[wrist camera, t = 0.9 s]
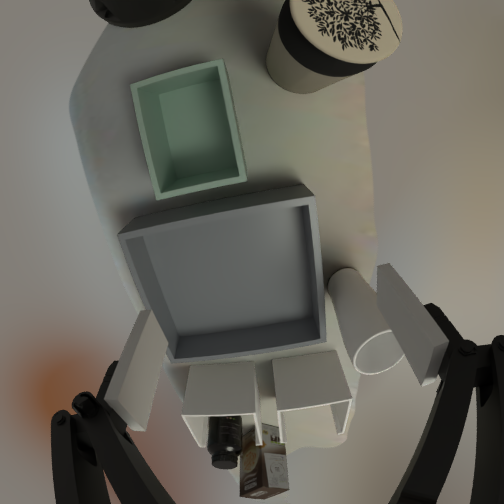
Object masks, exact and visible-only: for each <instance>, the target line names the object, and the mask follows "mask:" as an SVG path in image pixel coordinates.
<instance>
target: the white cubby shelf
mask: <svg viewBox="0 0 504 504" xmlns="http://www.w3.org/2000/svg"><path fill="white" fill-rule="evenodd" d="M272 365H273V374H274V384H275V394H276V403H277V413H278V423H279V433H280V443H287V437H286V428H285V419H284V411H290V410H298V409H305V408H312V407H318V406H324V405H329V404H330V406H331V410H332V414H333V418H334V422H335V426H336V430H337V434H343V433H344V431H345V427H346V423H347V419H348V415H349V411H350V407H351V403H352V396H351V393H350V390H349V387H348V384H347V381H346V378H345V375H344V372H343V369H342V366H341V363H340V360H339V357H338V354H337V352H336V350H334V351H329V352H322V353H316V354H309V355H302V356H295V357H287V358H279V359H272ZM250 414H253V415H254V420H255V438H256V446H257V445H263V444H262V425H261V406H260V395H259V389H258V383H257V377H256V372H255V366H254V361H250V362H238V363H225V364H208V365H190V369H189V374H188V380H187V385H186V391H185V396H184V402H183V408H182V414H181V415H182V417H183V419H184V421H185V423H186V425H187V426H188V428H189V430H190V432H191V434H192V435H193V437H194V439H195V440H196V442H197V444H198V445H199V447H206V437H207V426H208V416H235V415H250Z"/></svg>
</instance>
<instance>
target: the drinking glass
mask: <svg viewBox="0 0 504 504" xmlns="http://www.w3.org/2000/svg"><path fill="white" fill-rule="evenodd" d="M328 292H329V295H330V297H331V300H332V303H333V306H334V310H335V313H336V317H337V320H338V324H339V328H340V332H341V335H342V339H343V342H344V345H345V348H346V350H347V353H348V355H349V357H350V360H351V362H352V364H353V366H354V368H355V369H356V370H357V371H358V372H360V373H362V374H368V375H371V374H378V373H381V372H384V371H386V370H388V369H390V368H391V367H393V366H394V365H396V364H397V363H398V362H399V361H400V360H401V359H402V357H403V356H404V355H405V354H404V352H403V350H402V349H401V347H400V345H399V343H398V341H397V340H396V338H395V336H394V334H393V332H392V331H391V329H390V327H389V325H388V324H387V322H386V320H385V318H384V317H383V315H382V313H381V312H380V310H379V308H378V306H377V305H376V301H377V293H376V292H375V291H374V290H373V289H372V288H371V287H370V285H369V284H368V283H367V282H366V281H365V280H364V278H363V277H362V275H361V274H360V273H359V272H358V271H356V270H355V269H351V268H345V269H341V270H339V271H337V272H336V273H335V274H333V276H332V277H331V278H330V280H329V283H328Z"/></svg>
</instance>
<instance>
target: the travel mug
mask: <svg viewBox="0 0 504 504" xmlns="http://www.w3.org/2000/svg"><path fill="white" fill-rule="evenodd" d="M401 37H402V20H401V16H400V13H399V11H398V8H397V6H396V5H395V3H394V1H393V0H285V2H284V4H283V6H282V9H281V12H280V15H279V18H278V21H277V24H276V27H275V30H274V34H273V37H272V40H271V43H270V46H269V49H268V53H267V57H266V64H267V69H268V72H269V74H270V76H271V77H272V79H273V80H274V81H275V82H276V83H277V84H278V85H279V86H281V87H282V88H284V89H286V90H288V91H290V92H294V93H299V94H307V93H312V92H316V91H318V90H320V89H322V88H324V87H327V86H329V85H331V84H333V83H336V82H338V81H340V80H343V79H345V78H348V77H350V76H352V75H355V74H357V73H360V72H362V71H365V70H367V69H369V68H370V67H372V66H373V65H374V64H376V63H377V62H378V61H381V60H383V59H385V58H387V57H388V56H390V55H391V54H392V53H393V52H394V51H395V50H396V48H397V47H398V45H399V43H400V41H401Z"/></svg>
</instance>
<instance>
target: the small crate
mask: <svg viewBox="0 0 504 504" xmlns="http://www.w3.org/2000/svg"><path fill="white" fill-rule="evenodd" d="M130 87H131V92H132V97H133V103H134V108H135V113H136V118H137V122H138V127H139V132H140V136H141V140H142V145H143V149H144V153H145V158H146V162H147V166H148V170H149V174H150V178H151V182H152V185H153V189H154V193H155V197H156V200H161V199H165V198H170V197H174V196H178V195H183V194H187V193H192V192H196V191H201V190H206V189H210V188H215V187H220V186H225V185H230V184H235V183H241V182H246V181H247V167H246V162H245V157H244V152H243V147H242V142H241V136H240V131H239V126H238V121H237V116H236V111H235V106H234V101H233V96H232V91H231V86H230V81H229V76H228V72H227V69H226V66H225V63H224V60H223V59H219V60H214V61H210V62H205V63H201V64H197V65H193V66H189V67H185V68H181V69H177V70H174V71H170V72H167V73H164V74H160V75H157V76H154V77H151V78H148V79H145V80H142V81H139V82H136V83H133V84H131V85H130Z"/></svg>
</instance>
